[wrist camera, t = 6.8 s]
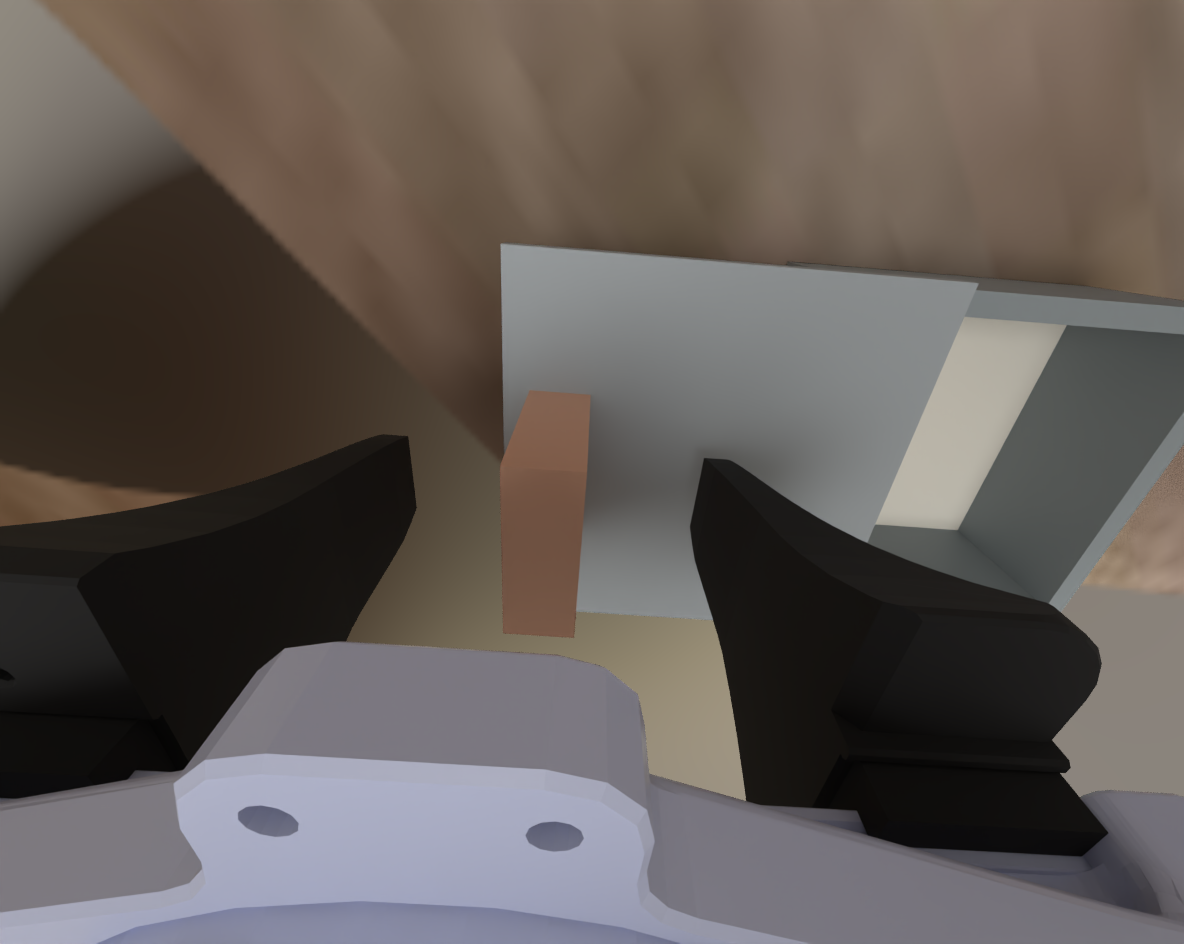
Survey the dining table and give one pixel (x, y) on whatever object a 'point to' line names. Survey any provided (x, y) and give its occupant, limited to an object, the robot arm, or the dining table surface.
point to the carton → (1038, 434)
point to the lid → (692, 411)
